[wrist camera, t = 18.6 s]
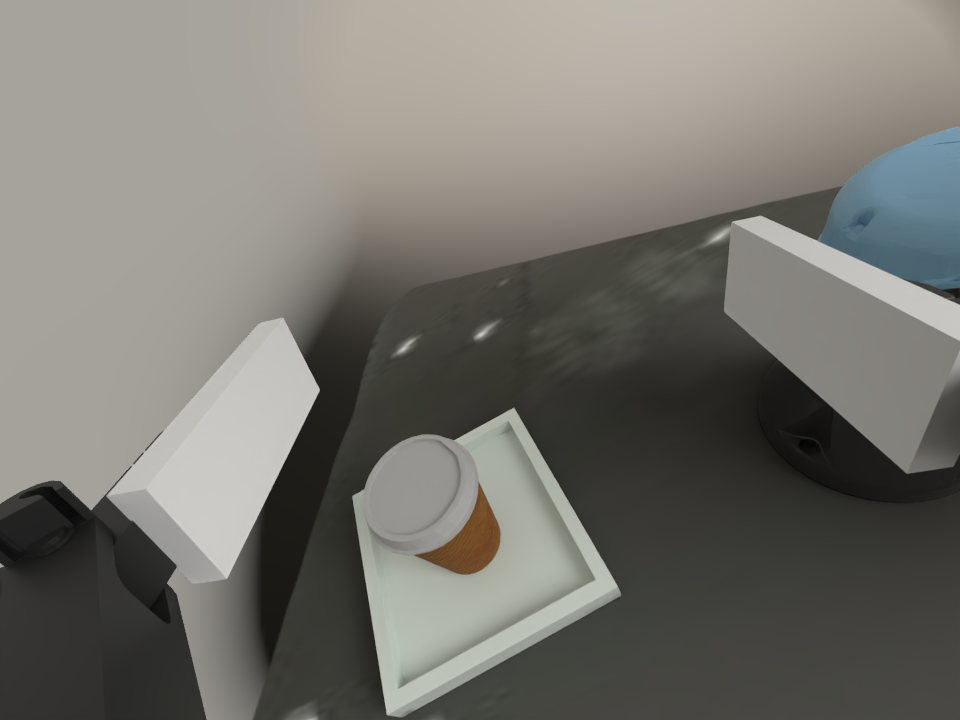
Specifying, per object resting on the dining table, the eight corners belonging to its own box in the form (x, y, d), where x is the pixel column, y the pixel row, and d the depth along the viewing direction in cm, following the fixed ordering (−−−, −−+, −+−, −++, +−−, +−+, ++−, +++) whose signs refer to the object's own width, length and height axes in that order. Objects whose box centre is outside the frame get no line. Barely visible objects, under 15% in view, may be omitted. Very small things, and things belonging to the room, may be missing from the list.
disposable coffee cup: (530, 573, 38) (484, 519, 29) (429, 610, 39) (357, 568, 30) (503, 477, 45) (459, 412, 36) (418, 511, 45) (356, 454, 37)
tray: (364, 505, 49) (352, 496, 48) (520, 420, 50) (514, 407, 48) (402, 717, 35) (386, 715, 33) (621, 595, 35) (617, 586, 34)
